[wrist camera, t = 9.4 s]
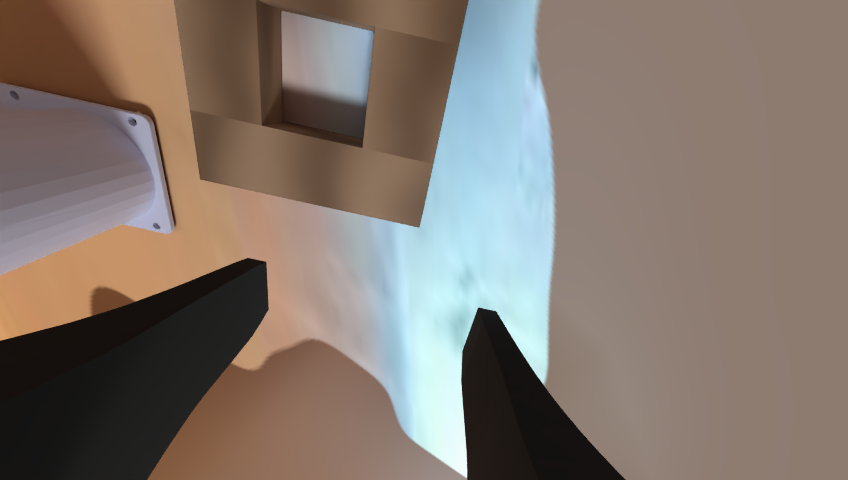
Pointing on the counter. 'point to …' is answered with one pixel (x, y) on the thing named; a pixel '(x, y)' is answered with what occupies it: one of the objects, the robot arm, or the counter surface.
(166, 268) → the counter surface
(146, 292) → the counter surface
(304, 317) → the counter surface
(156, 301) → the robot arm
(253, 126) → the tan flat piece
